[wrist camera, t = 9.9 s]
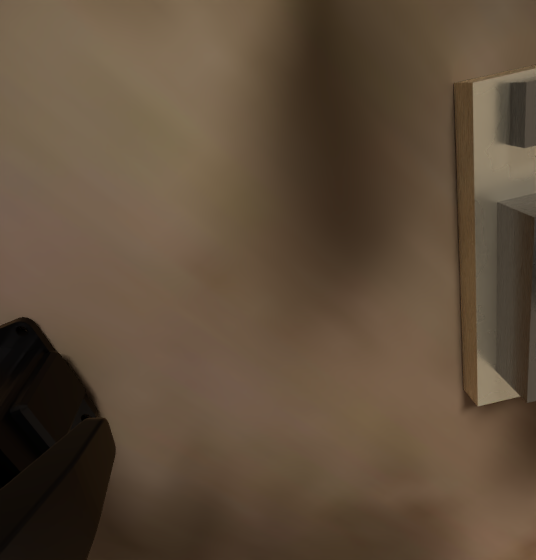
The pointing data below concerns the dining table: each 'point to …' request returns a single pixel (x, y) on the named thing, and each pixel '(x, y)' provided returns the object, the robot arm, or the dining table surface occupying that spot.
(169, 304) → the dining table surface
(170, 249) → the dining table surface
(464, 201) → the white base plate
